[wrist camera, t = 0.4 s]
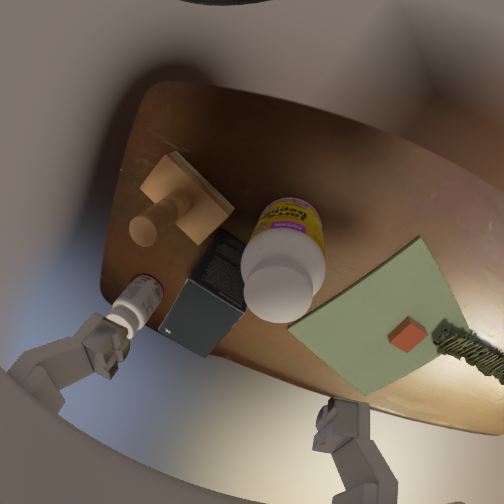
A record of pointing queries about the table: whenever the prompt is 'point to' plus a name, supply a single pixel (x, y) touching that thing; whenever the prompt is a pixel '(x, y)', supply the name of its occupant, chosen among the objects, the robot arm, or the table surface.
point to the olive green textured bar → (472, 353)
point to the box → (209, 298)
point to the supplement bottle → (284, 261)
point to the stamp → (178, 203)
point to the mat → (383, 320)
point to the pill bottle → (136, 304)
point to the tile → (407, 334)
